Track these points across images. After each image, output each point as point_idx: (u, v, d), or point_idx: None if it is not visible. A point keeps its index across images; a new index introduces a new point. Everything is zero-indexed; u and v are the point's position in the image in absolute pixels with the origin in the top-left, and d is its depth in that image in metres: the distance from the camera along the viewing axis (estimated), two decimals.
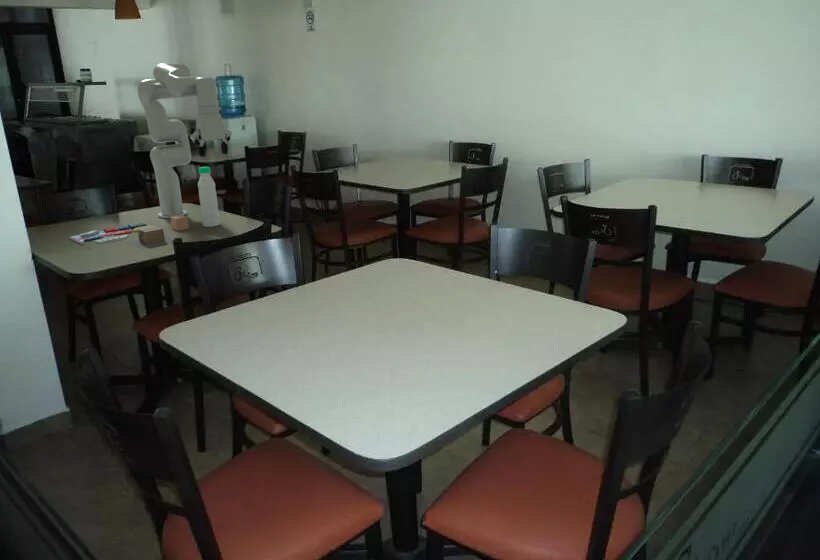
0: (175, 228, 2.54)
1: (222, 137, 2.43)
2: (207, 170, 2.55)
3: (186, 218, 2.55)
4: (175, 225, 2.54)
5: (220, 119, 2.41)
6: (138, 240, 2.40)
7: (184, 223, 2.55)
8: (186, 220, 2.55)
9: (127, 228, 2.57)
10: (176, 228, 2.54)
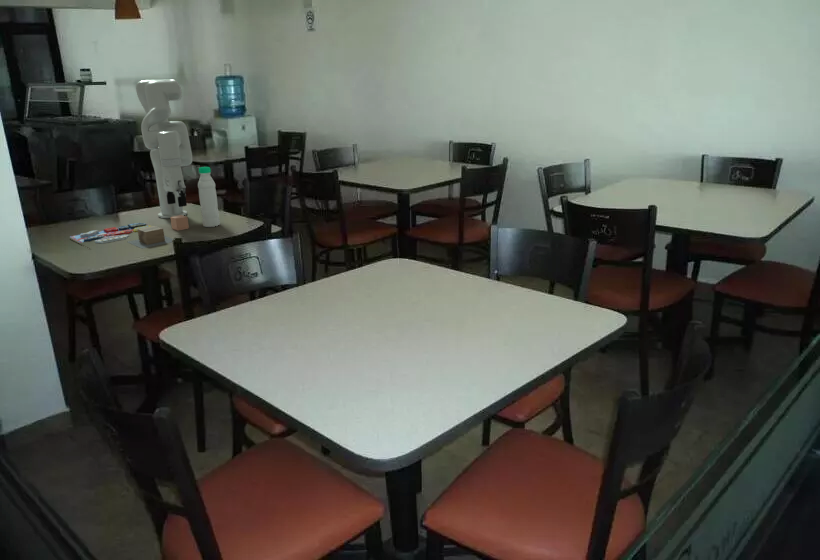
0: (175, 228, 2.54)
1: None
2: (207, 170, 2.55)
3: (186, 218, 2.55)
4: (175, 225, 2.54)
5: None
6: (138, 240, 2.40)
7: (184, 223, 2.55)
8: (186, 220, 2.55)
9: (127, 228, 2.57)
10: (176, 228, 2.54)
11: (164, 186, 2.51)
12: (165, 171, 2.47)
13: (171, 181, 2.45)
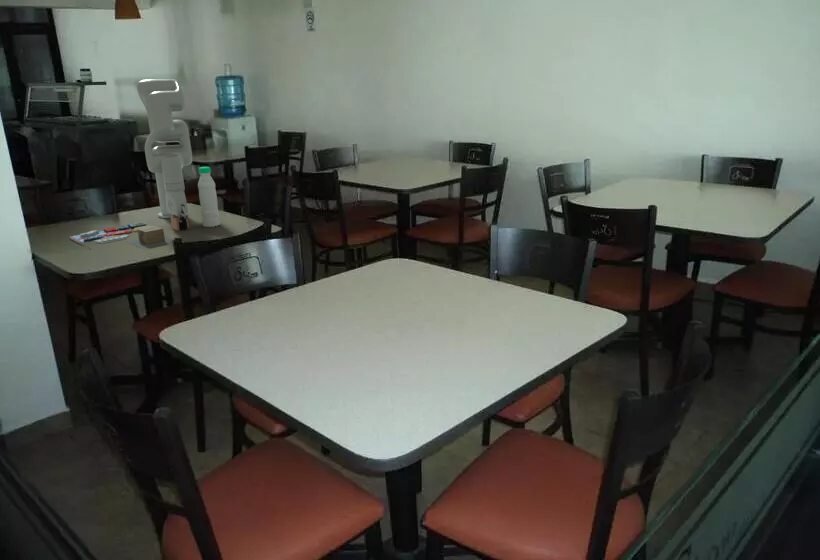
0: (175, 228, 2.54)
1: None
2: (207, 170, 2.55)
3: None
4: (175, 225, 2.54)
5: None
6: (138, 240, 2.40)
7: None
8: None
9: (127, 228, 2.57)
10: (176, 228, 2.54)
11: (167, 209, 2.54)
12: (169, 195, 2.50)
13: (174, 205, 2.49)
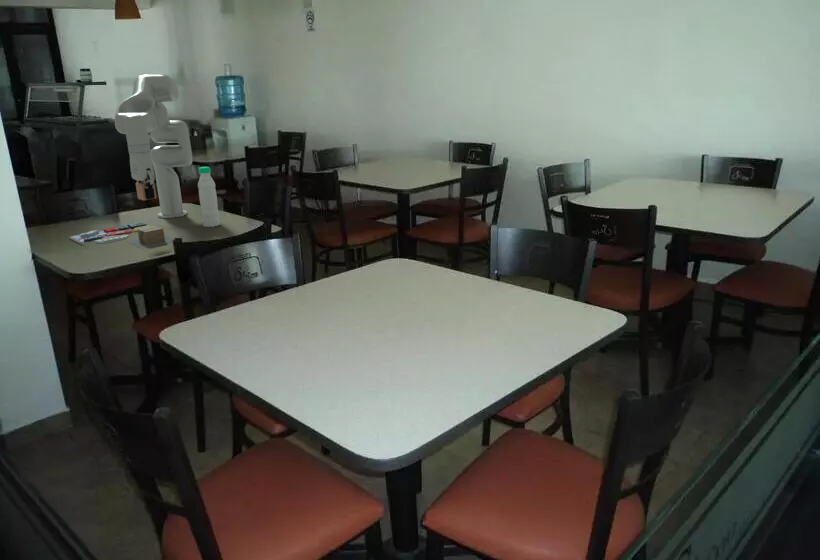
0: (141, 195, 2.31)
1: None
2: (207, 170, 2.55)
3: (153, 184, 2.31)
4: (140, 192, 2.30)
5: None
6: (138, 240, 2.40)
7: None
8: None
9: (127, 228, 2.57)
10: (142, 195, 2.30)
11: (132, 174, 2.31)
12: (133, 158, 2.27)
13: (139, 169, 2.25)
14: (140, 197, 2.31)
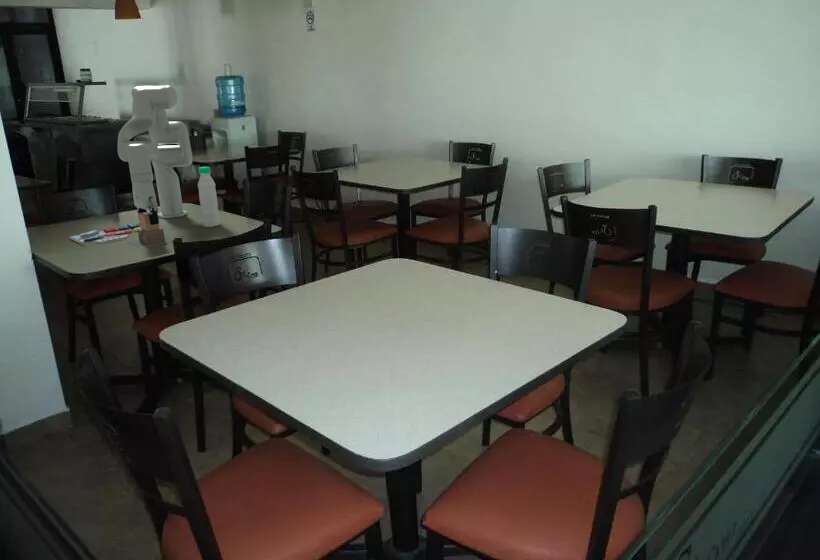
0: (144, 226, 2.34)
1: None
2: (207, 170, 2.55)
3: None
4: (143, 223, 2.33)
5: None
6: (138, 240, 2.40)
7: None
8: None
9: (127, 228, 2.57)
10: (145, 226, 2.33)
11: (135, 202, 2.33)
12: (135, 186, 2.29)
13: (142, 197, 2.28)
14: (143, 227, 2.34)
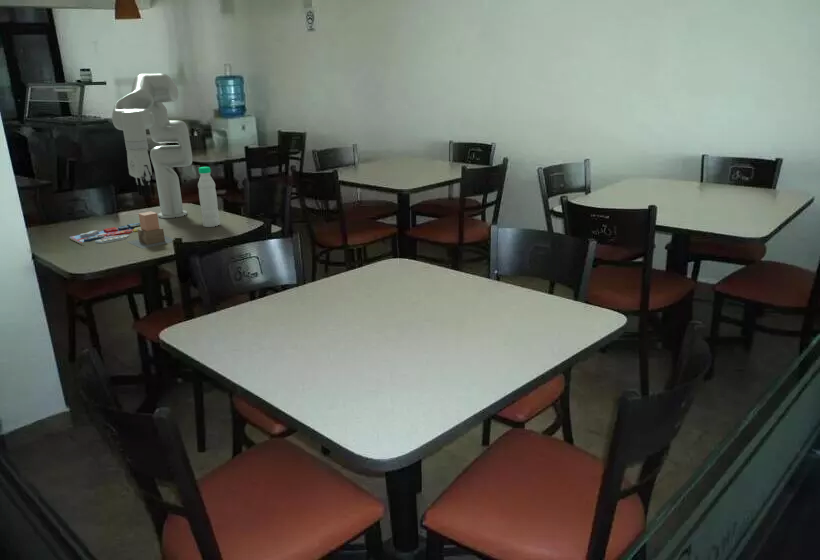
0: (144, 226, 2.34)
1: None
2: (207, 170, 2.55)
3: (156, 215, 2.34)
4: (143, 223, 2.33)
5: None
6: (138, 240, 2.40)
7: (154, 221, 2.34)
8: (156, 217, 2.35)
9: (127, 228, 2.57)
10: (145, 226, 2.33)
11: (130, 171, 2.29)
12: (130, 154, 2.25)
13: (136, 166, 2.24)
14: (143, 227, 2.34)
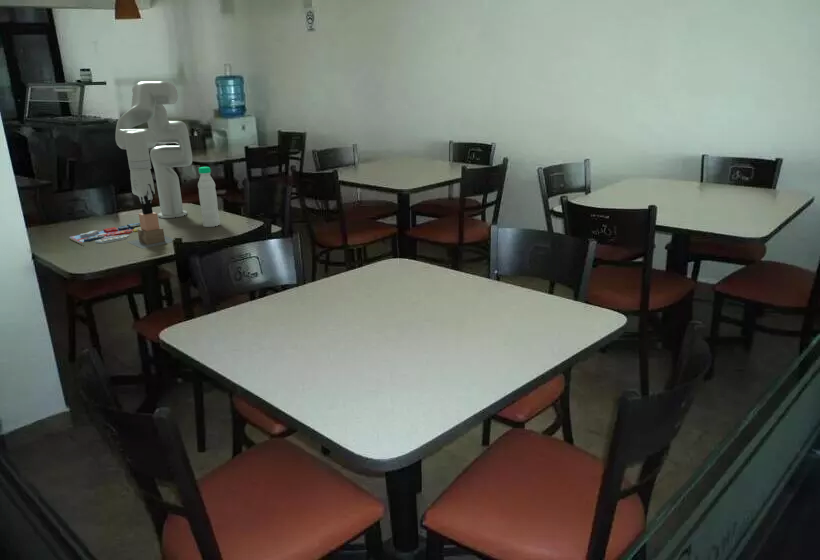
0: (144, 226, 2.34)
1: None
2: (207, 170, 2.55)
3: (156, 215, 2.34)
4: (143, 223, 2.33)
5: None
6: (138, 240, 2.40)
7: (154, 221, 2.34)
8: (156, 217, 2.35)
9: (127, 228, 2.57)
10: (145, 226, 2.33)
11: (133, 190, 2.32)
12: (133, 174, 2.27)
13: (140, 185, 2.26)
14: (143, 227, 2.34)
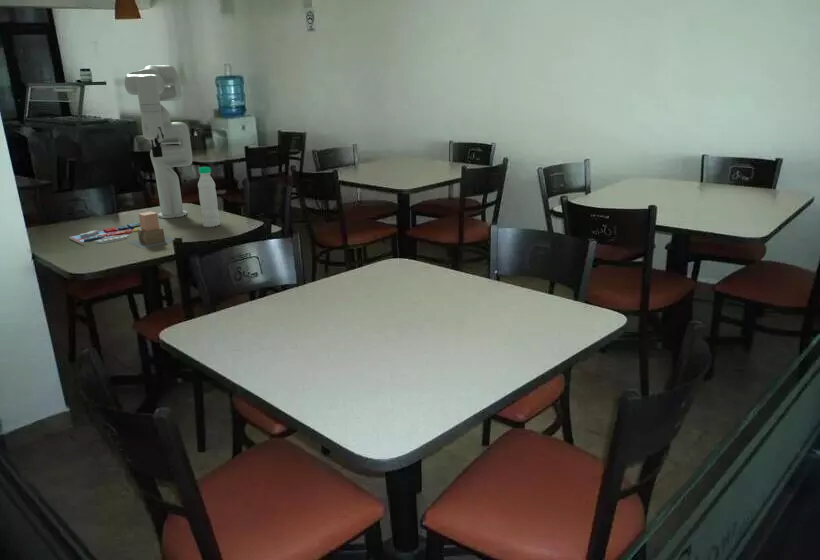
0: (144, 226, 2.34)
1: None
2: (207, 170, 2.55)
3: (156, 215, 2.34)
4: (143, 223, 2.33)
5: None
6: (138, 240, 2.40)
7: (154, 221, 2.34)
8: (156, 217, 2.35)
9: (127, 228, 2.57)
10: (145, 226, 2.33)
11: (143, 133, 2.41)
12: (144, 117, 2.37)
13: (150, 128, 2.35)
14: (143, 227, 2.34)
